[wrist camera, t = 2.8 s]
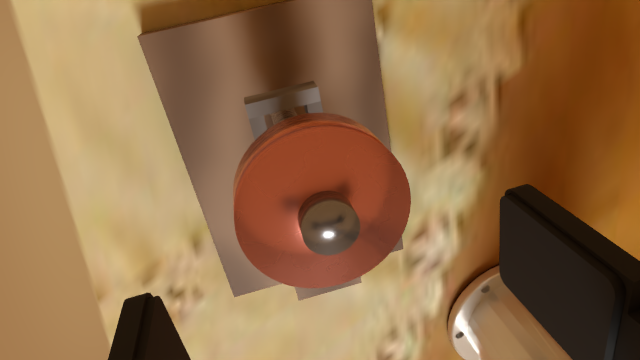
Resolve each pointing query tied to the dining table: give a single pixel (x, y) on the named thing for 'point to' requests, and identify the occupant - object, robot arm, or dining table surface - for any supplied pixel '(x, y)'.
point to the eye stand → (261, 96)
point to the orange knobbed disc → (318, 200)
